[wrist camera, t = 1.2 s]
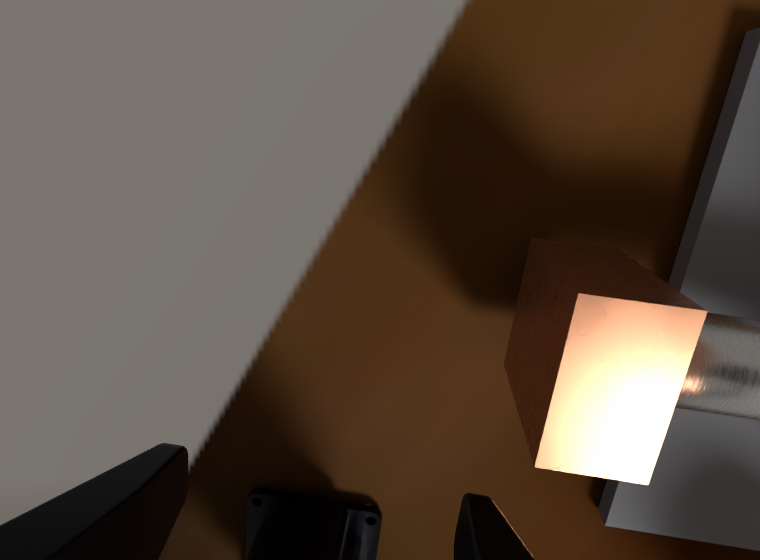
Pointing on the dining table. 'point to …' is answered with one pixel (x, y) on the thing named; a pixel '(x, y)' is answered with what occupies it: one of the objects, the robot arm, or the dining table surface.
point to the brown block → (618, 361)
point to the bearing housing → (721, 296)
